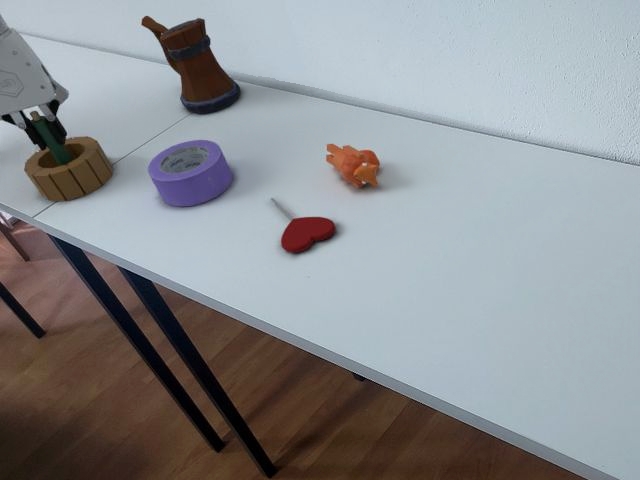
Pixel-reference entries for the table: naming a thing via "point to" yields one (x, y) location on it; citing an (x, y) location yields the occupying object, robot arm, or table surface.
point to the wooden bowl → (70, 170)
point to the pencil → (50, 139)
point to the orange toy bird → (354, 164)
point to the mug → (195, 65)
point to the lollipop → (305, 231)
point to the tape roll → (190, 173)
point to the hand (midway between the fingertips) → (53, 143)
